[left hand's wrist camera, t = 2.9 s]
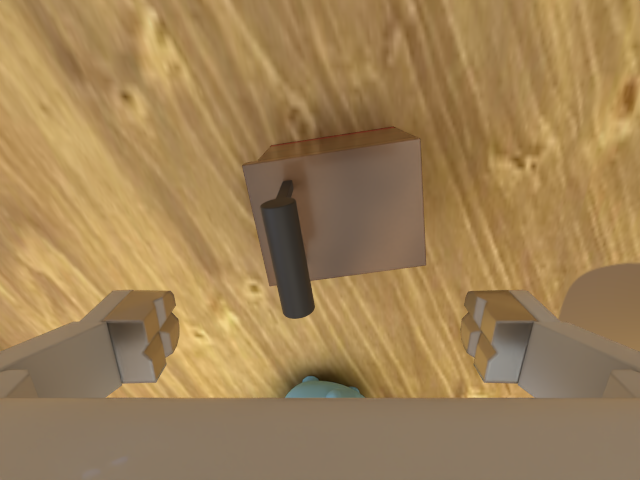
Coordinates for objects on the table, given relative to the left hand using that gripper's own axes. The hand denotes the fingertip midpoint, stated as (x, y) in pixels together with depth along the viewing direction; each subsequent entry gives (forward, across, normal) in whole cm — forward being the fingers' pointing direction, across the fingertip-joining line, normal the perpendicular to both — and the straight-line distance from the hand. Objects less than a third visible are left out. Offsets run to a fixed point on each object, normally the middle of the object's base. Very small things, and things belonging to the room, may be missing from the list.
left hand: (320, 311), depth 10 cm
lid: (+19, +1, -3) cm, 19 cm away
